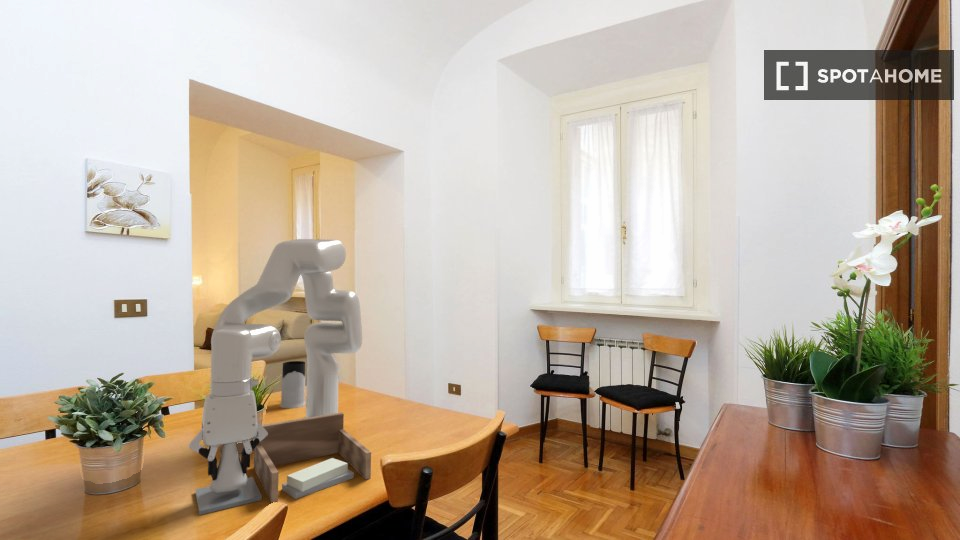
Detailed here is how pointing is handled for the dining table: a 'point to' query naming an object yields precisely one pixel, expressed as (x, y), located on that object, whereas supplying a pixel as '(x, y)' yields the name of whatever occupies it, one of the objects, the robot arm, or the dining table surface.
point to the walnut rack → (306, 447)
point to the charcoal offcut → (297, 493)
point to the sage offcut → (317, 474)
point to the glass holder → (293, 385)
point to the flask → (229, 471)
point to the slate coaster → (226, 497)
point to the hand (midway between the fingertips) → (229, 473)
